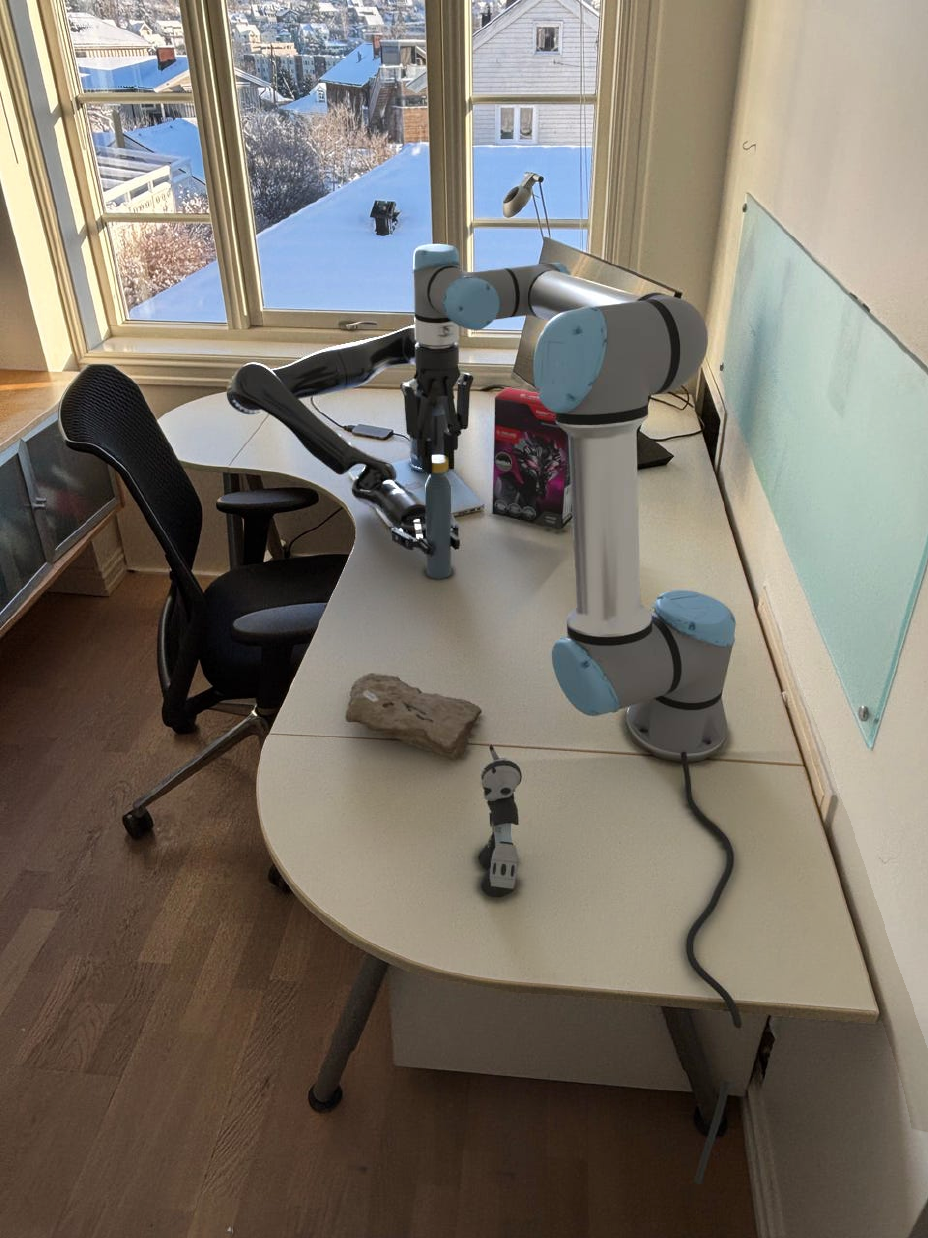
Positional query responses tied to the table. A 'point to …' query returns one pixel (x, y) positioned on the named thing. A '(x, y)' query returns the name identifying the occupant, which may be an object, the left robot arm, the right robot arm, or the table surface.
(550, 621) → the table surface
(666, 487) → the table surface
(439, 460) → the cap
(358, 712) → the stone
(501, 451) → the graphics card box
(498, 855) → the robot
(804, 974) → the table surface
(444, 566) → the bottle
